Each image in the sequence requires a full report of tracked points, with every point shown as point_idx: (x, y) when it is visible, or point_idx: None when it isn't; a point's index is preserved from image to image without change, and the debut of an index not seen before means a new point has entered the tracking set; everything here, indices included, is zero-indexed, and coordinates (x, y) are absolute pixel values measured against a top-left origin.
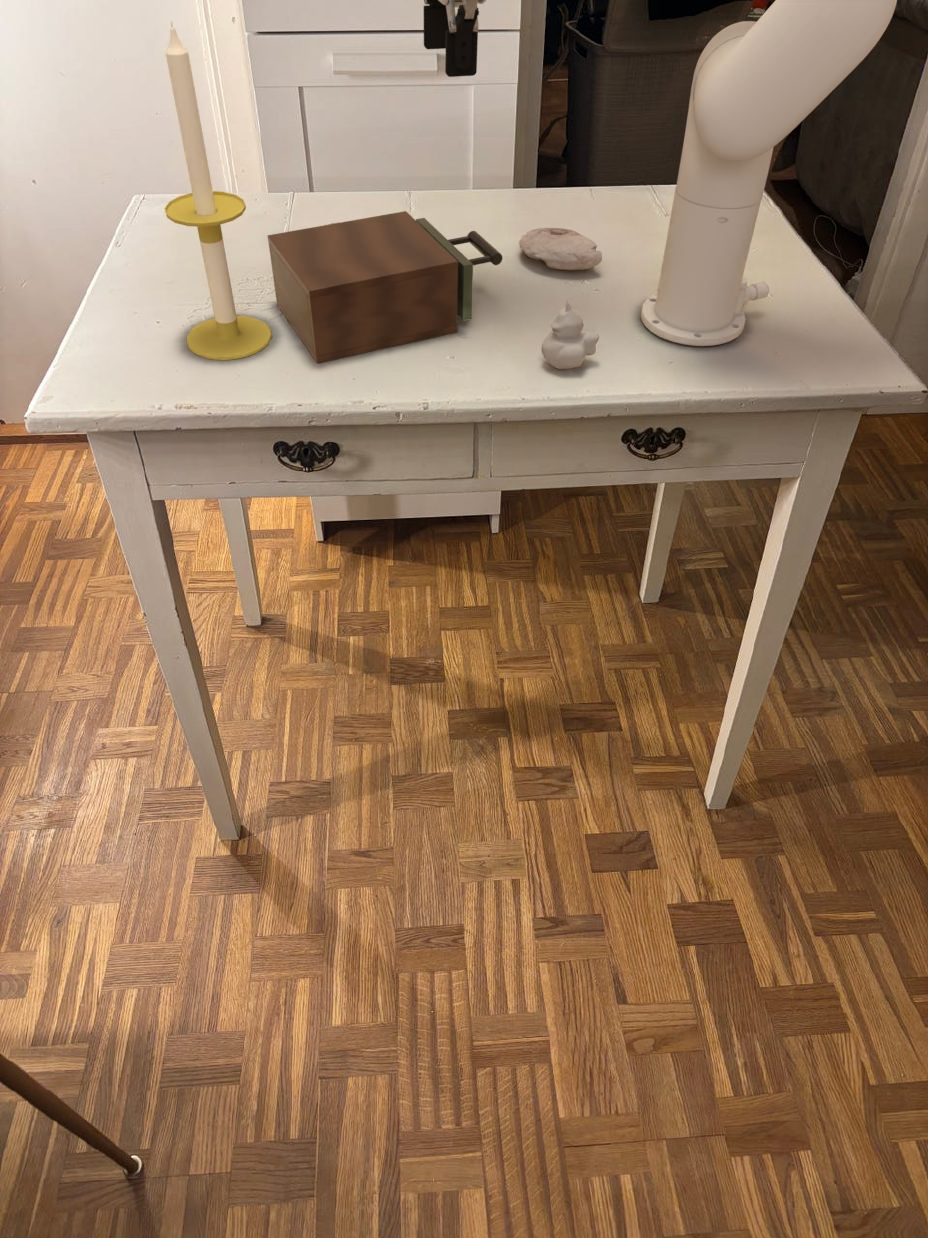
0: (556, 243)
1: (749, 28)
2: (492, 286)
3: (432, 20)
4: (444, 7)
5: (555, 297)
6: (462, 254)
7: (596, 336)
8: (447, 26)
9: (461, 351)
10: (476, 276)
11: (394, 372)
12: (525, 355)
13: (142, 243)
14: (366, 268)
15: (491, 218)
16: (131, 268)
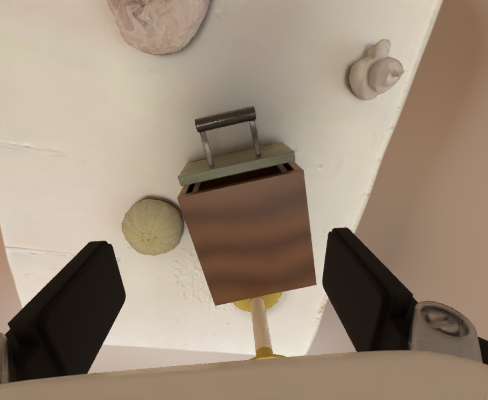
0: (183, 11)
1: None
2: (213, 103)
3: (92, 341)
4: (48, 345)
5: (246, 42)
6: (271, 156)
7: (390, 44)
8: (87, 288)
9: (314, 157)
10: (191, 113)
11: (325, 207)
12: (337, 107)
13: (116, 336)
14: (293, 246)
15: (44, 57)
16: (154, 338)
